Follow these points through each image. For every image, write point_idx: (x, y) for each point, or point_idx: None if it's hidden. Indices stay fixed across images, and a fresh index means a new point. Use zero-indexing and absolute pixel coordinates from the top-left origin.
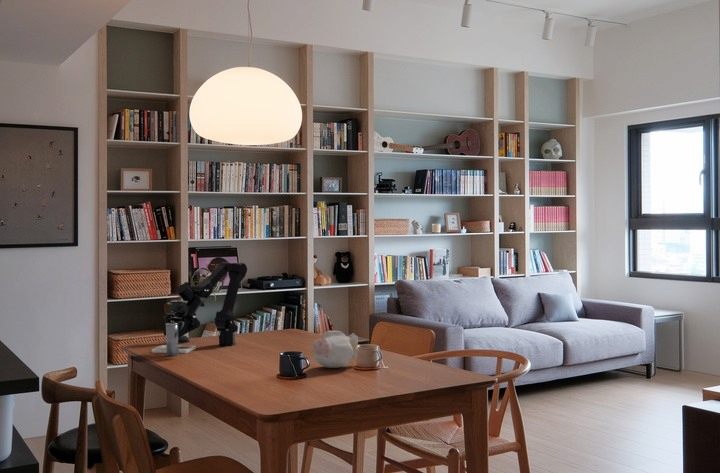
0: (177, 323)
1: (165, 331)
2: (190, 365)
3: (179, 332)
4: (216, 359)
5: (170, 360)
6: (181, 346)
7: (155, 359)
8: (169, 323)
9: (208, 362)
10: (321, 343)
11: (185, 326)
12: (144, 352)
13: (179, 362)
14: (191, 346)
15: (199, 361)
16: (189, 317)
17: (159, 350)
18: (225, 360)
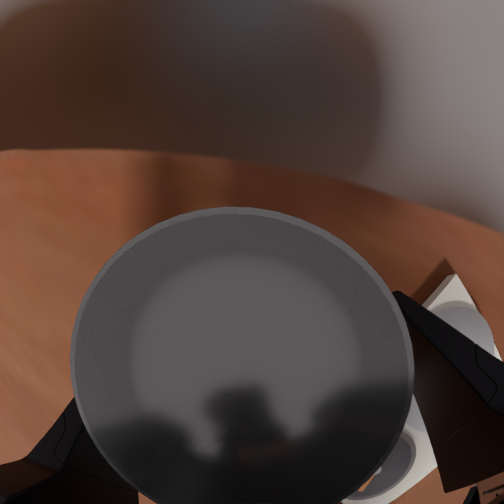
0: (105, 450)
1: (406, 320)
2: (7, 230)
3: None
4: (25, 382)
5: (123, 221)
6: (400, 458)
7: (212, 173)
8: (195, 292)
9: (2, 315)
10: None
11: (37, 445)
12: (468, 246)
13: (60, 228)
14: (352, 499)
15: (26, 306)
16: None
17: None
18: (3, 381)
